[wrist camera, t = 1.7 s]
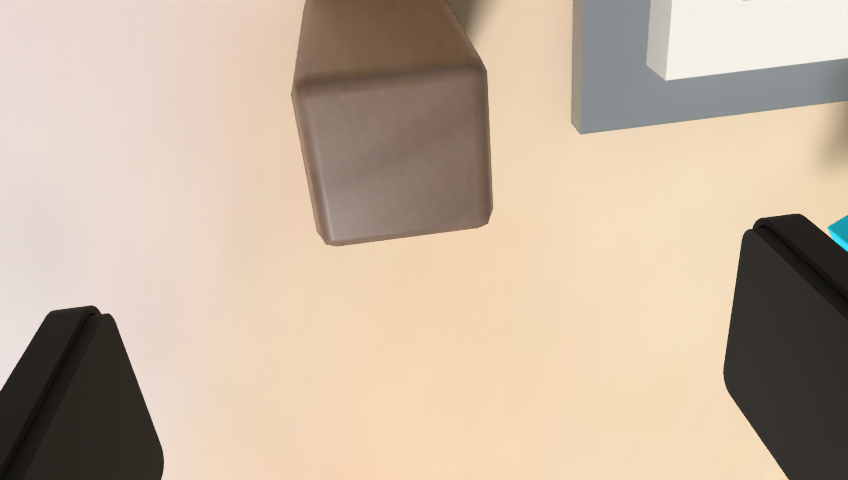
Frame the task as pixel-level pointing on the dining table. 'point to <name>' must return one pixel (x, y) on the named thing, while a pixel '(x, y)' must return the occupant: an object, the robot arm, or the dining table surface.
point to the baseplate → (678, 98)
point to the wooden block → (391, 120)
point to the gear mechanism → (840, 232)
